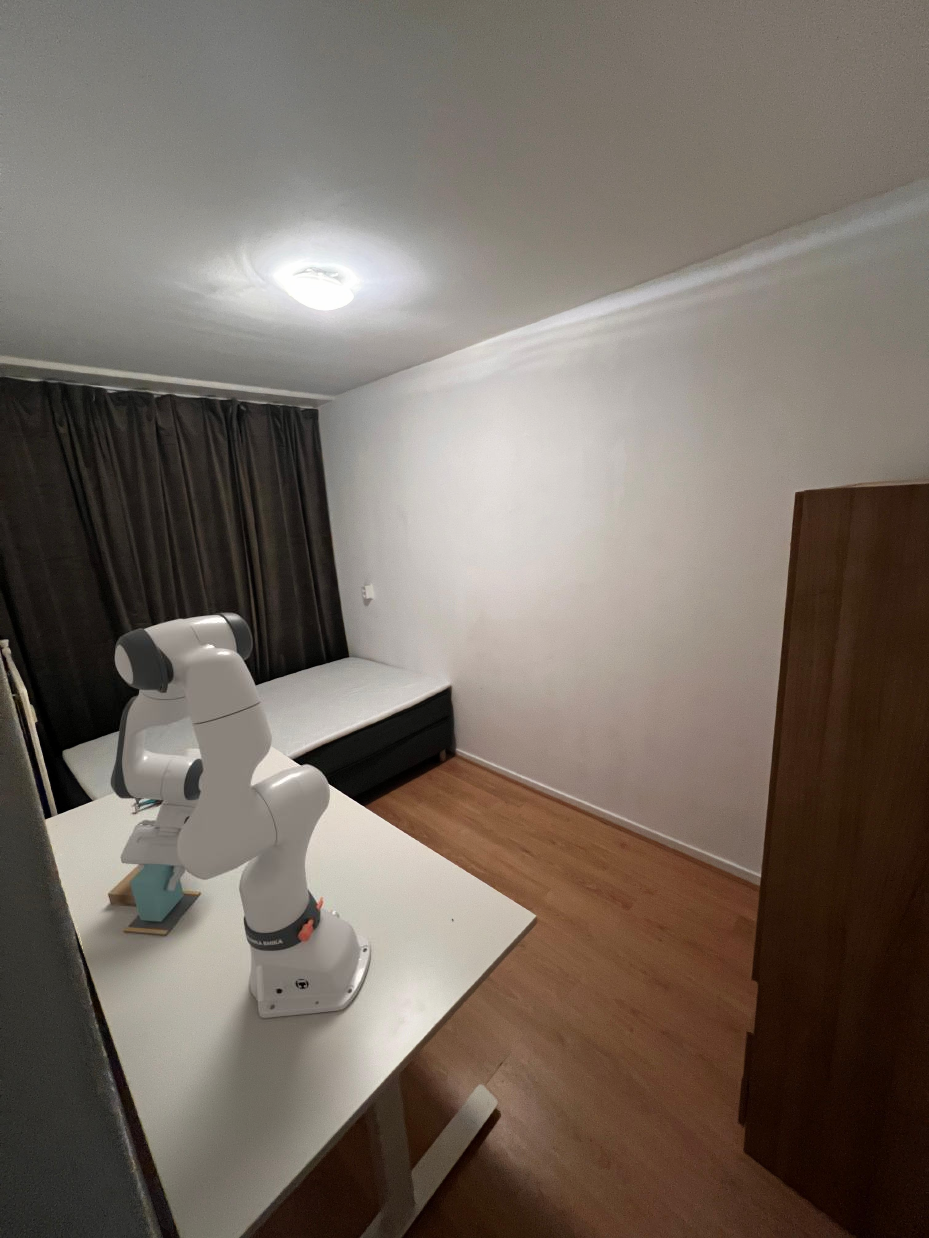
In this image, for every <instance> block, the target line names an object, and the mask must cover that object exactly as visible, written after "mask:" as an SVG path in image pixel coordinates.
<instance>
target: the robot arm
mask: <svg viewBox="0 0 929 1238" xmlns="http://www.w3.org/2000/svg"><path fill="white" fill-rule="evenodd" d="M253 640H254V639H253V634H252V632H251V629H250V626H249V624H248V623H247V622H246V620H245V619H244V618H242V617H241V616H240V615H239V614H237V613H233V612H216V613H215V614H211V615H203V616H202V615H201V616H195V617H189V618H178V619H177V618H176V619H174V620H169V621H166V622H161V623H158V624H156V625H152V626H149V627H146V628H138V629H134V630H132V631H130V632H127V633H125V634H123V635H121V636H119V638H118V640H117V641H116V644H115V647H114V651H115V653H114V663H115V667H116V669H117V671H118V674H119V675H120V676H121V678H122V679H123V681H124V682H125V683H126V684H127V685H128V686H129V687H132V688H134V689H136V690H139V691H138V695H136V696H132V698H130V700H129V701H128V702H127V703H126V705H125V707H124V708H123V711H122V714H121V719H120V725H119V730H118V738H117V746H116V753H115V754H116V757H115V762H114V766H113V769H112V773H111V777H110V787H111V789H112V790H113V792H114V793H115V794H116V796H117V797H118V798H119V799H122V800H123V799H134V800H135V799H139V798H144V799H146V800H150V799H155V800H164V801H163V802H162V803H160V804H161V805H160V807H159V810H158V813H157V816H156V817H155V818H156V819H155V820H148V819H143V820H142V821H141V822H139V823H137V824H136V825H135V826H134V828H133V831H132V833H131V835H130V836H129V838H128V840H127V842H126V844H125V846H124V848H123V850H122V853H121V854H120V861H121V863H122V864H128V865H139V864H140V865H139V868H138V873H139V872H140V871H141V870H142V869H143V868H144V867H145V866H146V865H147V864H164V865H169V866H175V867H174V870H173V872H175V873H174V875H173V876H172V878H171V879H170V880H169V881H166V882H165V886H164V888H163V890H168V891H173V890H174V889H175V886H176V883H177V881H178V880H179V879H180V880H181V878H182V877H183V875H184V874H185V872H187V873H188V874H190V875H191V876H192V877H195V878H197V879H200V880H210V879H213V878H215V877H218V876H221V875H223V874H225V873H228V872H230V871H233V870H235V869H237V868H239V867H241V866H243V865H244V864H246V866H245V867H244V869H243V871H242V873H241V876H240V880H239V887H238V889H239V893H240V895H239V896H240V899H241V904H242V909H243V913H244V915H243V925H244V927H243V928H244V932H245V936H246V941H247V942H248V944H249V947H250V957H251V958H250V965H251V966H250V974H249V984H248V985H249V990H250V992H251V995H252V996H253V998H254V999H255V1000H256V1003H257V1012H258V1016H259V1017H260V1018H263V1019H267V1018H277V1017H287V1016H296V1015H306V1014H317V1013H327V1012H336V1011H342V1010H343V1009H345V1008H346V1007H347V1006H348V1005H350V1003H352V1001H353V1000H354V998H355V997H356V996H357V994H358V993H359V991H360V989H361V987H362V985H363V983H364V982H365V981H364V980H365V978H366V975H367V972H368V970H369V969H368V968H369V967H370V961H371V955H372V950H371V949H372V948H371V947H372V946H371V944H370V940H369V937H368V936H365V935H362V934H359V933H356V932H355V929H354V927H353V925H352V924H351V923H349V922H348V921H346V920H344V919H342V918H340V914H339V913H338V912H337V911H335V910H331V911H327V910H326V909H324V908H322V907H323V904H324V900H323V899H324V898H323V897H320V899H319V901H318V902H317V900H316V899H315V897H314V896H313V894H312V893H311V892H310V890H309V888H308V881H307V876H306V874H307V873H306V856H307V852H308V848H309V847H308V846H309V844H310V840H311V837H312V835H313V833H314V830H315V827H316V826H317V824H318V822H319V820H320V819H321V817H322V815H323V814H324V813H325V812H326V810H327V808H328V807H329V804H330V799H331V798H330V797H331V789H330V785H329V782H328V779H327V778H326V776H325V775H324V774H323V772H322V771H321V770H319V769H318V768H316V767H315V766H313V765H310V764H303V765H299V766H295V767H291V768H288V769H284V770H281V771H280V772H277V773H275V774H273V775H271V776H269V777H267V778H265V779H263V780H260V781H259V782H257V783H255V784H252V779H253V776H254V773H255V772H256V769H257V768H258V766H259V765H260V763H261V762H262V761H263V760H264V759H265V757H267V755H268V754H269V752H270V749H271V747H272V744H273V743H272V741H273V736H272V732H271V729H270V727H269V722H268V720H267V716H266V713H265V710H264V707H263V704H262V700H261V697H260V694H259V691H258V689H257V686H256V684H255V681H254V679H253V677H252V675H251V671H249V668H248V667H247V664H246V663H245V660H247V659H248V658H249V657H250V656H251V653H252V650H253V647H254V646H253V645H254V642H253ZM188 718H190V721H191V725H192V727H193V731H194V734H195V737H196V741H197V744H198V747H190V748H186V749H185V750H183V751H182V753H181V755H178V754H177V755H176V754H164V753H156V752H153V751H149V750H147V749H146V748H145V744H146V737H147V731H149V730H152V729H155V728H162V727H170V726H172V725H177V724H179V723H181V722H183V721H184V720H187V719H188ZM144 799H143V800H144Z"/></svg>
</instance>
